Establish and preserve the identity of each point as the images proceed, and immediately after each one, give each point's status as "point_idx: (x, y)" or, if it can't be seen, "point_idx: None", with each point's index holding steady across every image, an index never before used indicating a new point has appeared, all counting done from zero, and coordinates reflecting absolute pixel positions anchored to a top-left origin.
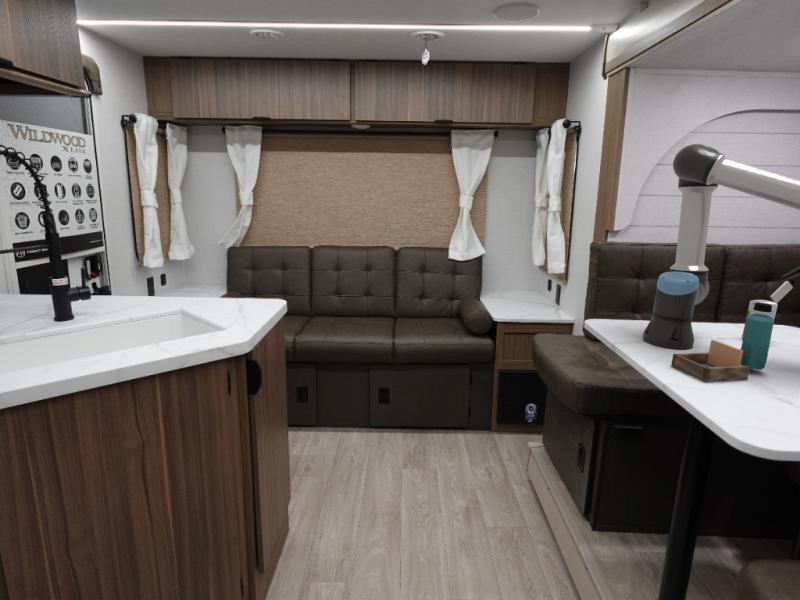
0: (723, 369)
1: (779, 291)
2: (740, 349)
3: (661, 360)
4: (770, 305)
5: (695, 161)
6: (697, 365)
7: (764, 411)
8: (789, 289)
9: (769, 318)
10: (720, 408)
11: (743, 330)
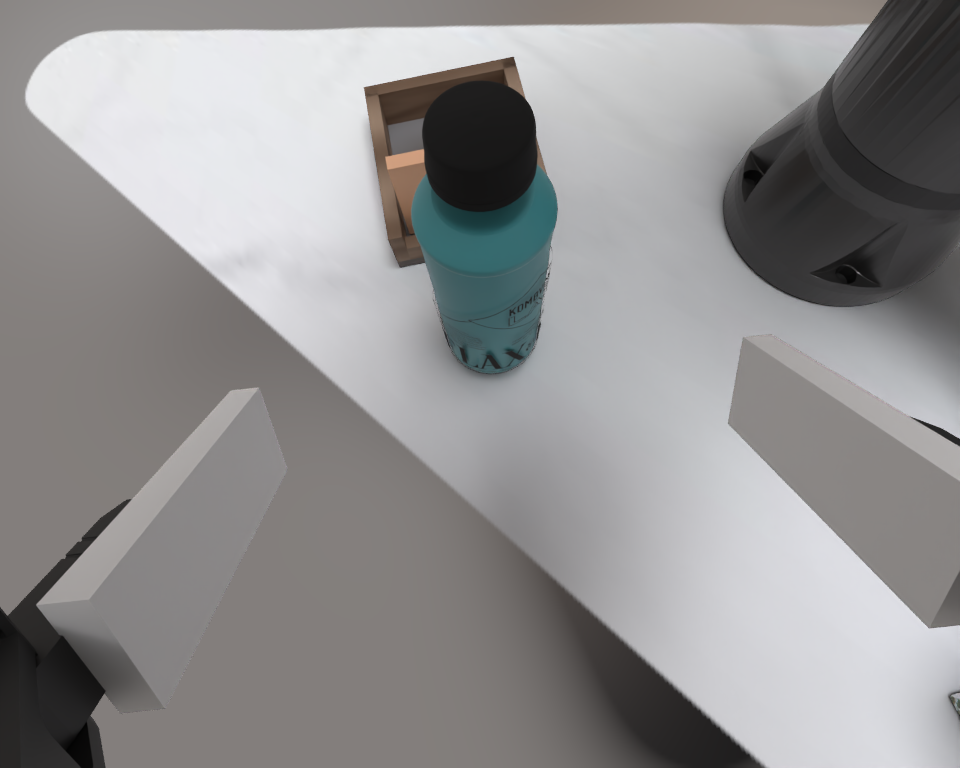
0: (373, 144)
1: (808, 399)
2: (399, 167)
3: (572, 96)
4: (428, 141)
5: None
6: (405, 82)
7: (182, 163)
8: (878, 556)
9: (425, 207)
10: (211, 73)
11: None
